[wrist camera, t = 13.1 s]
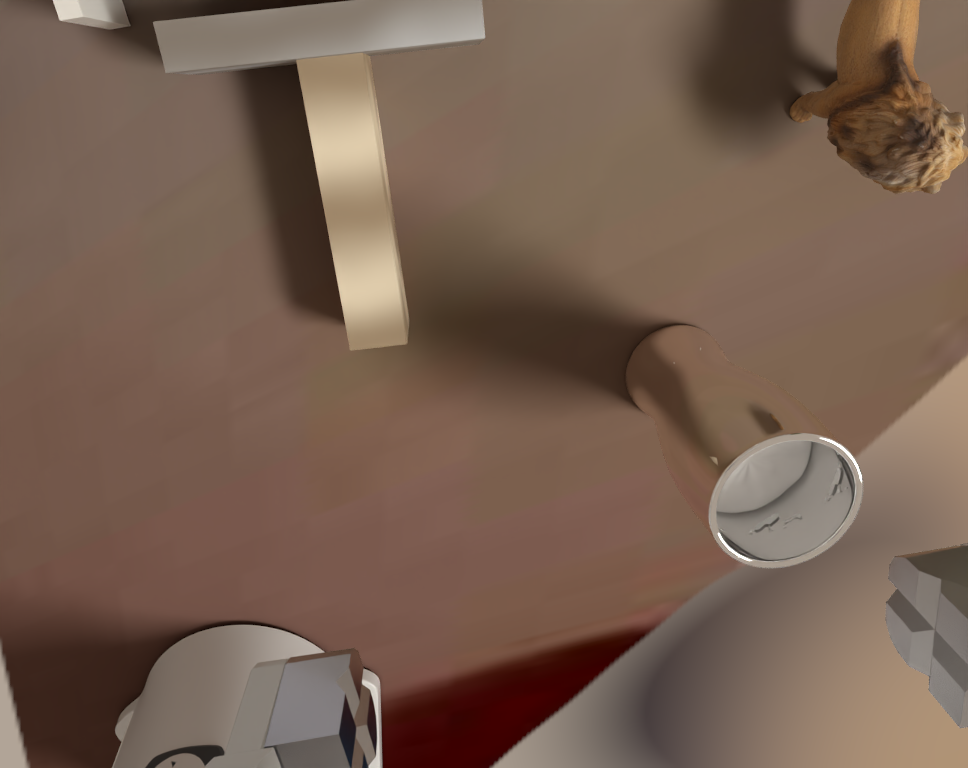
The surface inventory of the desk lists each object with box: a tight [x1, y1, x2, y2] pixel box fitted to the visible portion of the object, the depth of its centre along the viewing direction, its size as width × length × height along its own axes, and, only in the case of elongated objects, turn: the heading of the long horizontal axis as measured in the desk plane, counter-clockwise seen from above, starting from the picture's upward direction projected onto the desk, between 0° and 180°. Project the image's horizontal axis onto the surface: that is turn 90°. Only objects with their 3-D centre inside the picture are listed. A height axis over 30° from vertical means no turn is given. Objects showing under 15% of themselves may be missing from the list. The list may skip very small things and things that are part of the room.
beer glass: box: [626, 325, 863, 568], centre depth 36 cm, size 7×7×15 cm
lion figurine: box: [790, 0, 968, 194], centre depth 32 cm, size 15×5×9 cm, turn 14°
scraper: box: [153, 0, 485, 351], centre depth 36 cm, size 16×14×5 cm
